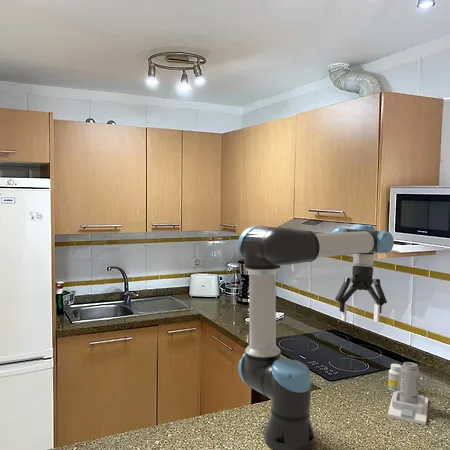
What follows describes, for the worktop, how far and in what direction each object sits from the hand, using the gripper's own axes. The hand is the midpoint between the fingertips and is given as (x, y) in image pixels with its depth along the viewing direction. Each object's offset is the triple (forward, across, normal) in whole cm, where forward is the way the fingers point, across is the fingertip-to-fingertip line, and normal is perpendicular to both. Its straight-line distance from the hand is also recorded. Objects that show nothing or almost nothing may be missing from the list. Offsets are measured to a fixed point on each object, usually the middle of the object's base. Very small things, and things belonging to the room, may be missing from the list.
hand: (360, 321), depth 168 cm
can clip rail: (+28, -14, +12) cm, 34 cm away
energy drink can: (+28, -14, +12) cm, 33 cm away
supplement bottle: (+27, -19, -4) cm, 33 cm away
